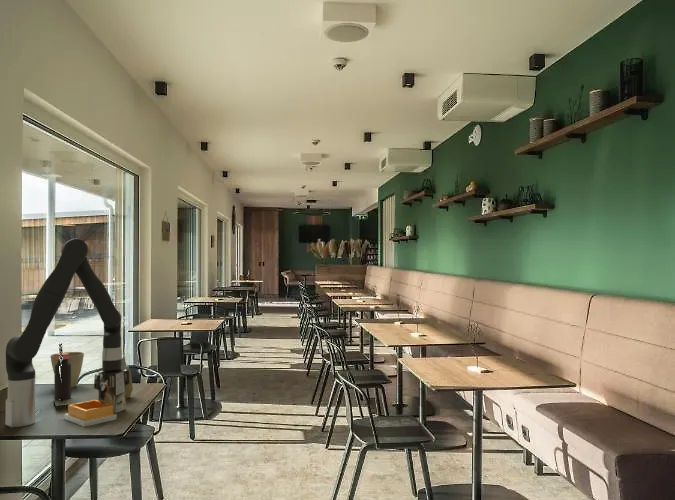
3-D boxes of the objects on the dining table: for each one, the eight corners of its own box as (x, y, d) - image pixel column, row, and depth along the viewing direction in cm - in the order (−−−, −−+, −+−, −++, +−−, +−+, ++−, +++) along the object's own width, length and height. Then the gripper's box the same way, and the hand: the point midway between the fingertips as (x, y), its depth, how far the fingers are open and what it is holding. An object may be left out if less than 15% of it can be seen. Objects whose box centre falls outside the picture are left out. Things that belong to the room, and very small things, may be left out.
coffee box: (126, 409, 240) (126, 370, 240) (116, 413, 234) (116, 373, 234) (108, 407, 242) (108, 369, 243) (97, 411, 236) (97, 372, 237)
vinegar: (74, 396, 261) (74, 352, 262) (65, 400, 255) (65, 355, 255) (59, 396, 262) (60, 352, 262) (51, 400, 255) (51, 355, 255)
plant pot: (74, 382, 292) (75, 350, 292) (89, 386, 283) (89, 353, 283) (44, 387, 281) (44, 354, 281) (58, 391, 271) (59, 357, 271)
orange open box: (83, 426, 215) (83, 412, 215) (64, 419, 225) (64, 405, 225) (116, 419, 225) (116, 405, 225) (96, 412, 235) (96, 398, 235)
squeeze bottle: (109, 398, 257) (109, 358, 258) (123, 395, 264) (124, 355, 265) (122, 401, 254) (122, 360, 254) (136, 397, 261) (136, 357, 261)
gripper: (100, 361, 230) (99, 402, 230) (132, 356, 241) (132, 395, 241) (90, 359, 235) (90, 399, 235) (123, 354, 246) (123, 392, 246)
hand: (111, 397), depth 238 cm, fingers open, 8 cm apart
